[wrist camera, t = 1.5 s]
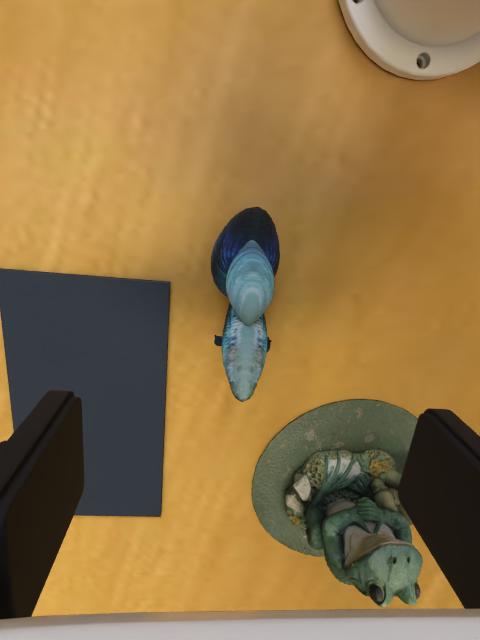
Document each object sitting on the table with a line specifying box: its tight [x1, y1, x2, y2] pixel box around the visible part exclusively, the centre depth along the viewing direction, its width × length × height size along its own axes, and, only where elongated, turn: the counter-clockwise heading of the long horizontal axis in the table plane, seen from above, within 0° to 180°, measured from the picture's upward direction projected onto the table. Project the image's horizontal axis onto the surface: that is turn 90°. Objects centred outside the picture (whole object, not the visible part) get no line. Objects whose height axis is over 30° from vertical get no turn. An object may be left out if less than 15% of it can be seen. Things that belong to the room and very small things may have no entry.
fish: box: [211, 207, 280, 402], centre depth 23 cm, size 4×10×10 cm, turn 174°
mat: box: [0, 269, 170, 517], centre depth 31 cm, size 22×12×1 cm, turn 175°
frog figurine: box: [252, 400, 423, 607], centre depth 30 cm, size 18×18×12 cm
